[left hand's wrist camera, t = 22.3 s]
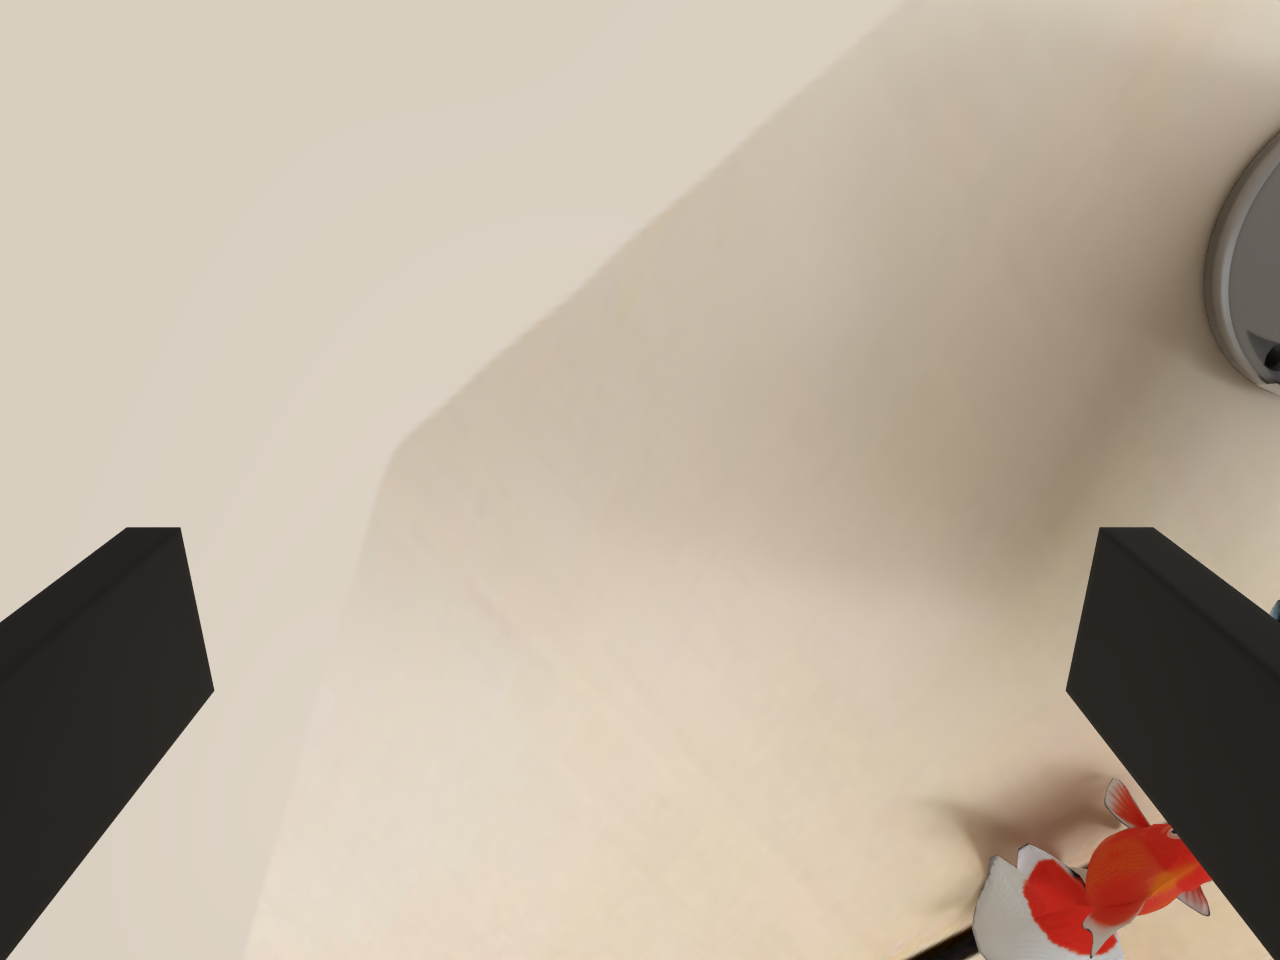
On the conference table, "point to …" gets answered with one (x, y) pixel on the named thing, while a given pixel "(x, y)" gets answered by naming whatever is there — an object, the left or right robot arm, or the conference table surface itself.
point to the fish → (1085, 892)
